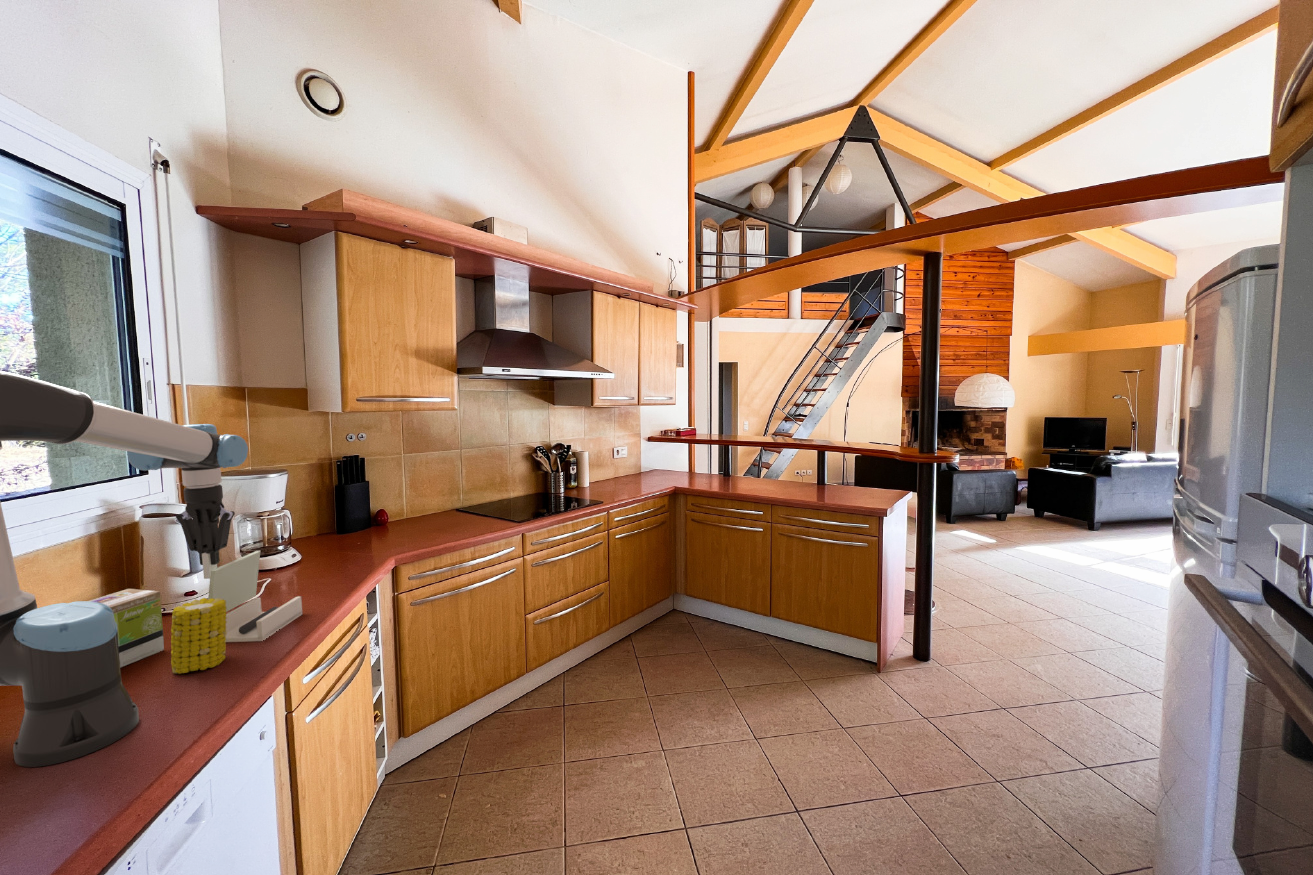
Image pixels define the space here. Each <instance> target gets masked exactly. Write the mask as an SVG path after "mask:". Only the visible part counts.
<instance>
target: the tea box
mask: <svg viewBox="0 0 1313 875" xmlns="http://www.w3.org/2000/svg"><path fill="white" fill-rule="evenodd" d="M88 601H90V602H98V603H102V604H105V605H107V606H109V607H110V608H111V609H112V611H113V614H114V619H115V622H116V624H117V634H118V647H119V659H120V669H121V668H123V667H126V666H127V665H130V664H133V663H135V662H138V661H140V660H144V659H146V658H148V657H150V656H152V655H155V654H158V653H160V651H161V652H163V651H164V649H165V645H164V644H165V643H164V640H165V638H164V627H163V617H162V616H163V615H162V601H161V591H158V590H147V589H136V588H126V589H124V590H120V591H117V592H113V593H109V594H106V595H103V596H100V597H97V598H93V599H90V600H88Z"/></svg>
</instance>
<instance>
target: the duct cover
mask: <svg viewBox="0 0 1313 875" xmlns="http://www.w3.org/2000/svg"><path fill="white" fill-rule="evenodd" d="M260 556H261V551H260V550H259V551H258V550H255V551H253V552H251V553H249V554H246V555H243V556H241V557H239V558H236V559H235V560H232V561H230V562H227V563H225V564H223V565H220V566H217V568H216V569H213V570H211V575H210V579H209V584H208V585H209V586H208V596H207V599H208V600H209V599H211V598H213V599H215V600H216V599H218V598H220V599H221V600H222V599H223V600H225V601H226V605H225V606H226V608H227V609H226V613H228V612H230V611H232V610H234V608H235V609H236V608H238V606H241V605H243V604H245V602H246V603H247V602H248V601H250V600H252V599H254V598H256V596H257V587H258V581H259V580H258V579H259V571H260V570H259V568H260V558H261V557H260Z"/></svg>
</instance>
